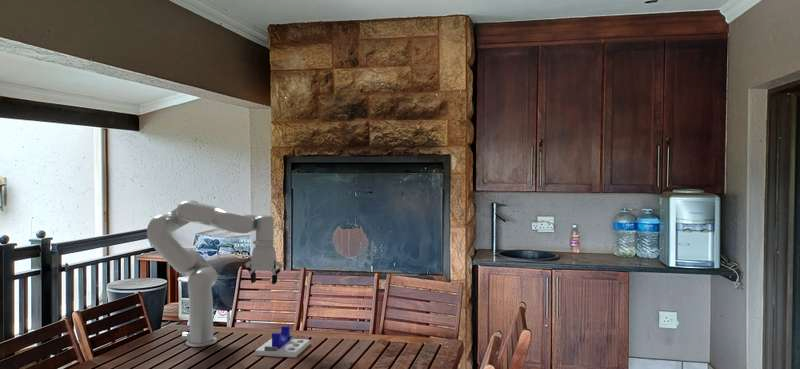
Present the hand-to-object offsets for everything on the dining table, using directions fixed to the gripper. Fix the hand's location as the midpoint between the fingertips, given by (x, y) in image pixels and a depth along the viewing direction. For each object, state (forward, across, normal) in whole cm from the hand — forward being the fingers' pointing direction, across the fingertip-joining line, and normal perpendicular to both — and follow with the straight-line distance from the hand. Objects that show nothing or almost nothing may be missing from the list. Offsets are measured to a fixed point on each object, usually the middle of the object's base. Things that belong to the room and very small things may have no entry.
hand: (263, 283), depth 235 cm
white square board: (+25, +14, -10) cm, 30 cm away
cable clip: (+23, +12, -9) cm, 28 cm away
